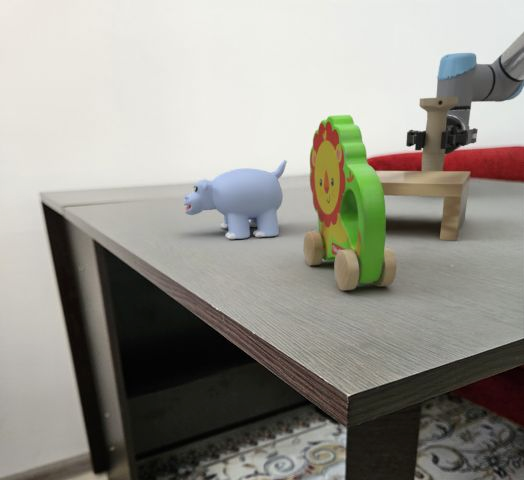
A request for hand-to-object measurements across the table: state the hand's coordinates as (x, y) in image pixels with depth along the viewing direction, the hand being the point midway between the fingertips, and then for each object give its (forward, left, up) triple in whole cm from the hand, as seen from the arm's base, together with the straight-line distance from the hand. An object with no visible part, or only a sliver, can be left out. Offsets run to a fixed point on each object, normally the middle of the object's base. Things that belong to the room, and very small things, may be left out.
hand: (430, 140), depth 91 cm
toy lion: (+2, +49, -11) cm, 50 cm away
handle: (0, -5, -8) cm, 10 cm away
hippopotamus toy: (+22, +33, -11) cm, 41 cm away
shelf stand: (0, +24, -10) cm, 26 cm away
